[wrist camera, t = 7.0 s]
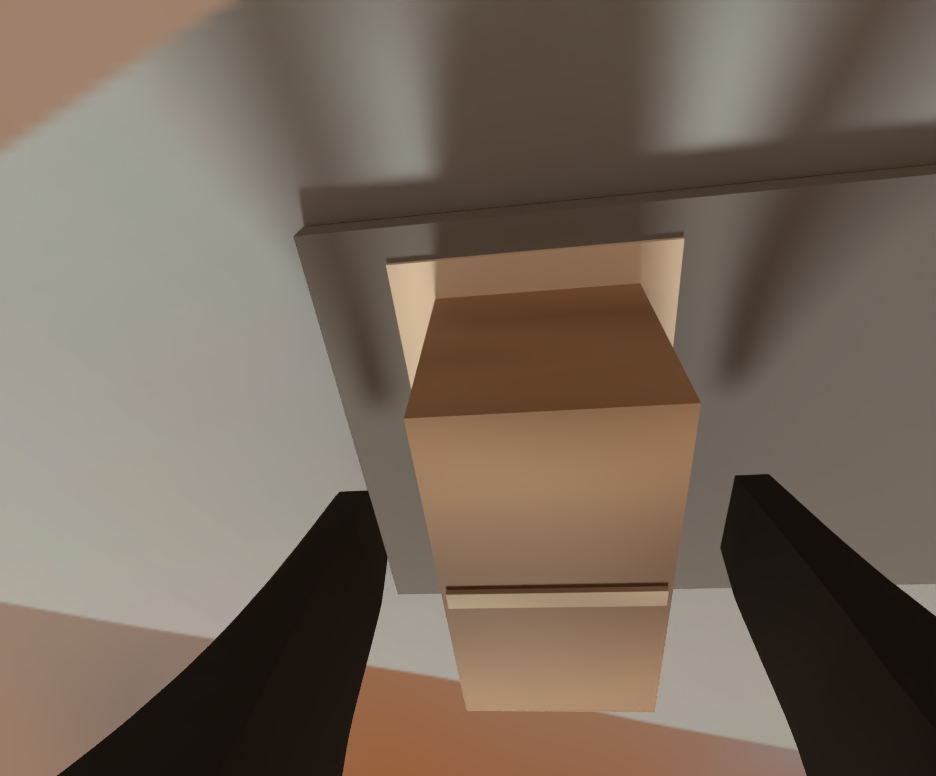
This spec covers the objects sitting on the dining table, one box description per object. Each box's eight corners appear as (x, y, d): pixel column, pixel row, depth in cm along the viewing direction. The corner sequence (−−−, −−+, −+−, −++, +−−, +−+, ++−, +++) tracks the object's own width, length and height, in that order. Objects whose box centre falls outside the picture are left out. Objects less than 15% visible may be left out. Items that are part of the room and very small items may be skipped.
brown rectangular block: (621, 558, 15) (655, 717, 11) (475, 561, 15) (466, 715, 12) (640, 282, 11) (703, 407, 7) (435, 299, 11) (402, 423, 8)
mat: (1351, 123, 9) (1409, 129, 8) (1044, 562, 15) (1066, 584, 14) (303, 227, 11) (292, 238, 10) (401, 577, 17) (397, 597, 16)
